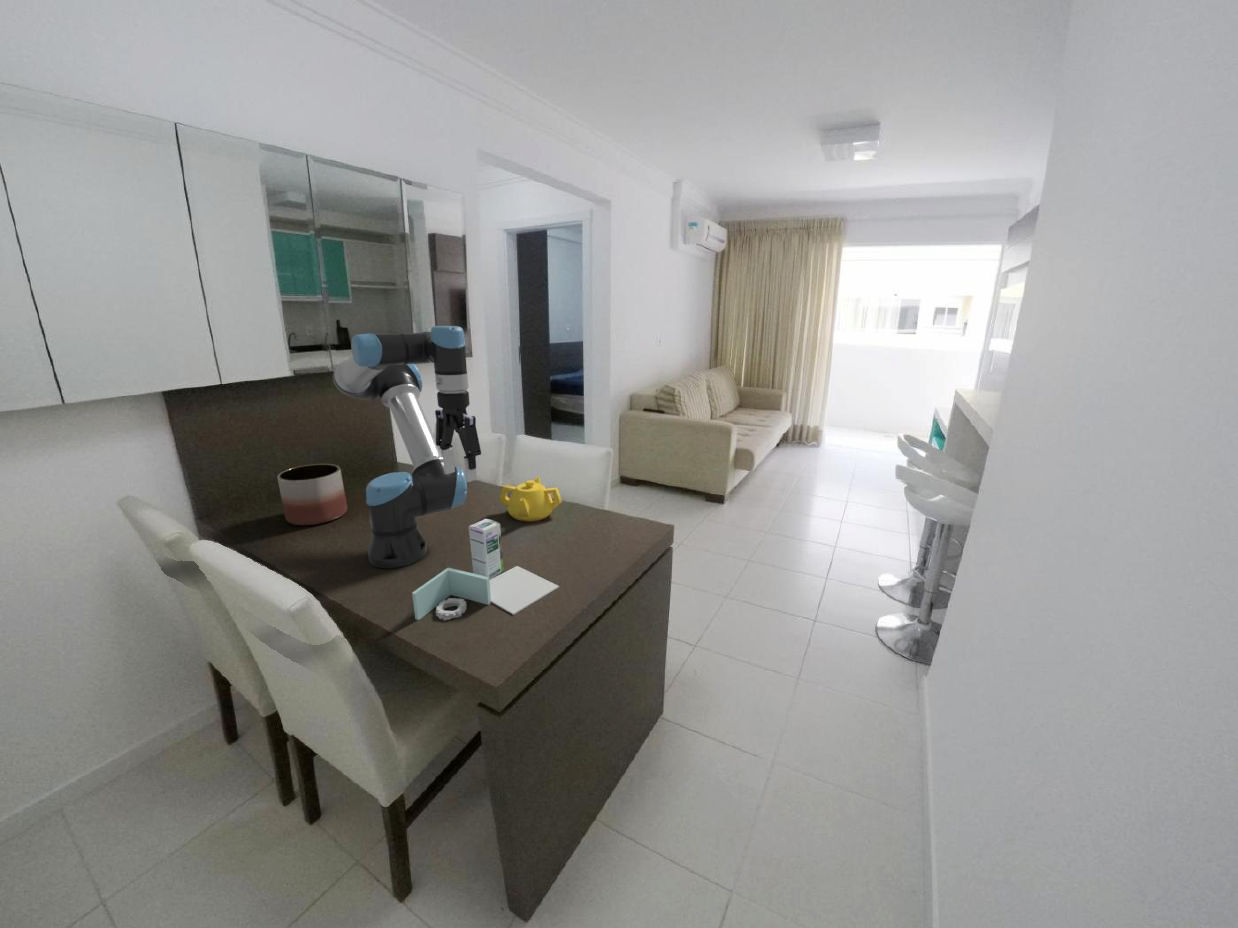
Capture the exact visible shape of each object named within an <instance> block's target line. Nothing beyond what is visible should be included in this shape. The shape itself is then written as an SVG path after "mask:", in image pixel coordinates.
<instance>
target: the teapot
mask: <svg viewBox="0 0 1238 928" xmlns="http://www.w3.org/2000/svg"><path fill="white" fill-rule="evenodd" d="M508 492H511V494H510V497H508ZM551 494H552V496H551ZM552 497H553V499H552ZM498 501H499V502H501V503H502V504H503V505H504V506H505V507H507V513H509V515H510V516H511V517H512V518H513V519H515V520H517V521H520V522H521V521H522V522H537V521H541V520H544V519H546V518H548V517H549V515H551V513H552V512H553V510H554V509H555V508H557V507H558V506H559V505H561V503H562V502H563V500H562V496H561V494H560V491H559V488H558V487H550V488H549V487H548V488H546V487H545V485H543V484H542V483H541V477H535V478H534V480H532V479H531V480H529V479H528V480H526V481H524V482H523V483H520V484H518V485H517V486H512V485H509V484H503V486H502V488H501V492H500V495H499V498H498Z"/></svg>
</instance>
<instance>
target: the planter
mask: <svg viewBox="0 0 1238 928" xmlns="http://www.w3.org/2000/svg"><path fill="white" fill-rule="evenodd" d="M342 476H343V475H342V470H341V468H340V466H338V465H337V464H332V463H313V464H305V465H299V466H296V467H291V468H288V469H285V470H284V471H281V472H279V473H278V474H277V477H276V478H277V482H278V483H277V484H278V487H279V492H280V498H281V503H282V507H283V513H284V517H285V521H286V522H287V523H289V524H292V525H295V526H316V525H320V524H325V523H328V522H332V521H335V520H336V519H339V518H340V517H342V516H343V515H345V513H346V512H347V511H348V503H347V502H348V501H347V498H346V492H345V486H344V482H343V477H342Z"/></svg>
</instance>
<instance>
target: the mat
mask: <svg viewBox="0 0 1238 928" xmlns="http://www.w3.org/2000/svg"><path fill="white" fill-rule="evenodd" d="M559 588H560V585H558V584H556V583H553V582H551V581H550V580H547V579H545V578H543V577H540V576H539V575H537V574H535V573H533V572H530V571H529V570H528V569H524V568H522V567H520V566H518V565H515V566H514V567H513V568H510V569H509V570H508V569H507V570H506V571H503V572H502V573H500V574H498V575H496V576H495V577H493V578H491V579H490V593H491V604H493V605H495V606H497V607H498V608H500V609H502V610H504V611H506V612H507V613H509V614H511V615H512V616H515V615H516V614H518V613H520V612H522V611H523V610H525V609H526V608H528V607H530V606H531V605H533V604H535V603H536V602H537V601H539V600H541V599H543V598H544V597H547V596H548V595H549V594H551V593H552V592H554V591H556V590H558V589H559Z"/></svg>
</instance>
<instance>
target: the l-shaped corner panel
mask: <svg viewBox="0 0 1238 928" xmlns="http://www.w3.org/2000/svg"><path fill="white" fill-rule="evenodd" d="M411 594H412V595H411V597H412V603H413V611H414V612H413V613H414V618H415V620H417V621H420V620H421V619H422V618H423V617H425V616H426V615H427V614H429V612H430V611H431V612H432V610H434V609H435V608H436V609H435V616H436V617H438V618H439V620H443V621H447V620H451V619H455V618H460V617H462V616H463V615H462V614H465V613H466V611H467V601H465V600H470V601H472V602H476V603H481V604H485V605H487V606H489V605H490V604H492V602H491V593H490V580H489V577H486V576H481V575H477V574H474V573H473V572H467V571H465V570H460V569H455V568H451V567H447V568H444V569H443V570H442V571H441V572H440V573H438V574H437V575H436V576H434V577H432V578H431V579H430V580H428V581H427V582H426V583H423V585H421V586H419V587H418V588H417V589H415V590H414V591H412V592H411ZM450 596H453V597H454V598H451V597H450ZM456 597H458V598H456ZM454 606H455V607H457V609H455V610H445V609H446V608H450V607H454Z"/></svg>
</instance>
